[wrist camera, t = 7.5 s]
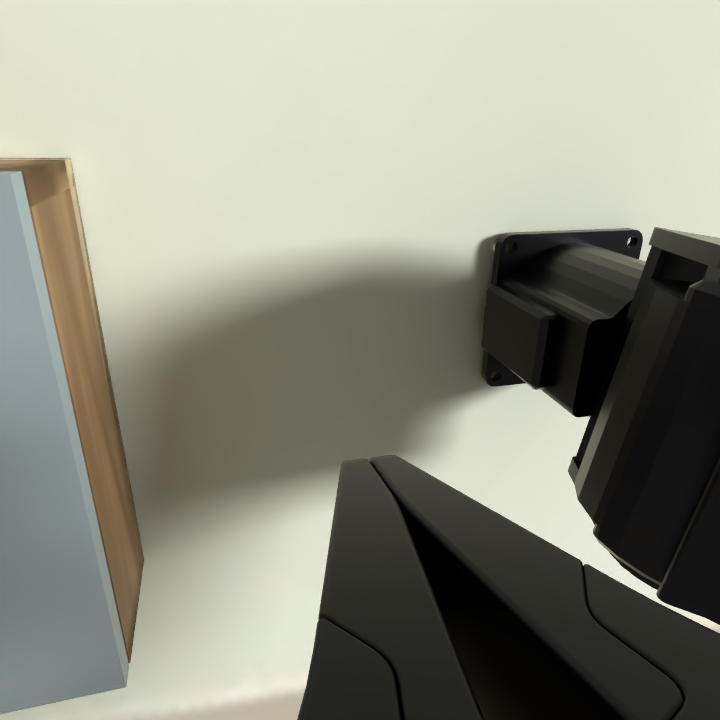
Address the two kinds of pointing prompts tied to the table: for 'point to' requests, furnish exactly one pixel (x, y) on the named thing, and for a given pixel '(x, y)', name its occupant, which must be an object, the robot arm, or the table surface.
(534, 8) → the table surface
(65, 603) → the square plate with post
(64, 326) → the box
